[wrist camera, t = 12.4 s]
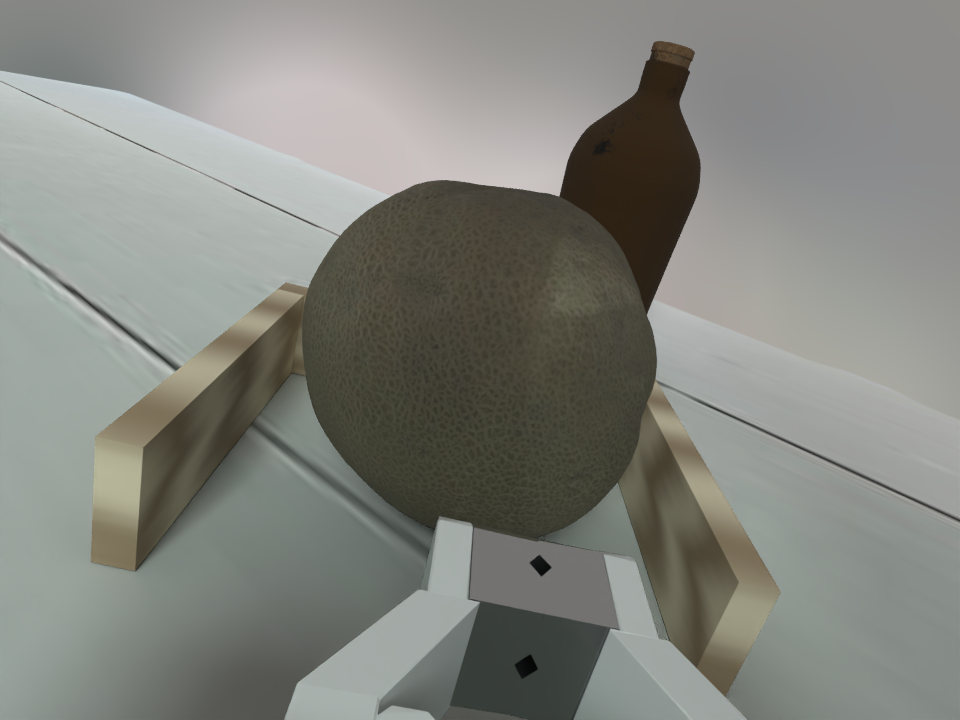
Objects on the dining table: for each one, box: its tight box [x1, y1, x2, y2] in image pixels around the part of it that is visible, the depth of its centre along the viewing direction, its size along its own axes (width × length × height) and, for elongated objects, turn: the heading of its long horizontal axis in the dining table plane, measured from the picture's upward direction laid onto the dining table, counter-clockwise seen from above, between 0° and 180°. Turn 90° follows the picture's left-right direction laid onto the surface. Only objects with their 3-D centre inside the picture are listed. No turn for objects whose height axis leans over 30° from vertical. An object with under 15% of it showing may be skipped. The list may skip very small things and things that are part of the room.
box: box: [91, 283, 781, 697], centre depth 31 cm, size 20×23×5 cm
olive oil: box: [559, 41, 701, 315], centre depth 53 cm, size 11×11×25 cm
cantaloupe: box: [302, 180, 657, 538], centre depth 27 cm, size 14×14×15 cm
